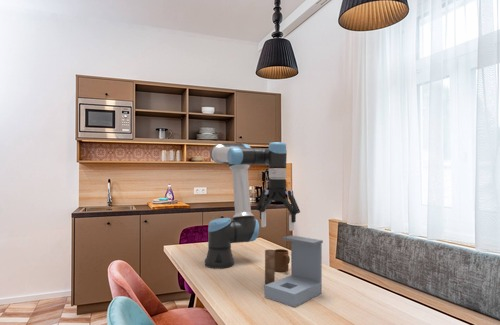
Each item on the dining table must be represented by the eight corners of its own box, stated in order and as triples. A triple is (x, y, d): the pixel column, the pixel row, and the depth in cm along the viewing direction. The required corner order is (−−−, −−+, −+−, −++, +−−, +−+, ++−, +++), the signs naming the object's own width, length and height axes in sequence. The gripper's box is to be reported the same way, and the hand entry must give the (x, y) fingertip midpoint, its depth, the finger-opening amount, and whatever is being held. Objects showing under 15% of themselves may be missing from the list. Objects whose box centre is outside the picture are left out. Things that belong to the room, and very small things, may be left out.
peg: (263, 286, 142) (263, 250, 142) (269, 284, 145) (269, 249, 145) (270, 288, 139) (270, 252, 140) (276, 286, 142) (276, 250, 142)
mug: (296, 274, 159) (296, 253, 160) (281, 275, 157) (281, 255, 157) (283, 267, 171) (283, 248, 171) (270, 268, 168) (270, 249, 168)
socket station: (263, 296, 131) (263, 241, 131) (291, 284, 144) (291, 235, 145) (295, 307, 120) (295, 248, 121) (322, 293, 134) (322, 240, 135)
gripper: (248, 178, 149) (248, 226, 148) (300, 179, 134) (299, 233, 134) (257, 177, 155) (257, 224, 154) (308, 179, 141) (307, 230, 140)
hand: (277, 228), depth 144 cm, fingers open, 13 cm apart
